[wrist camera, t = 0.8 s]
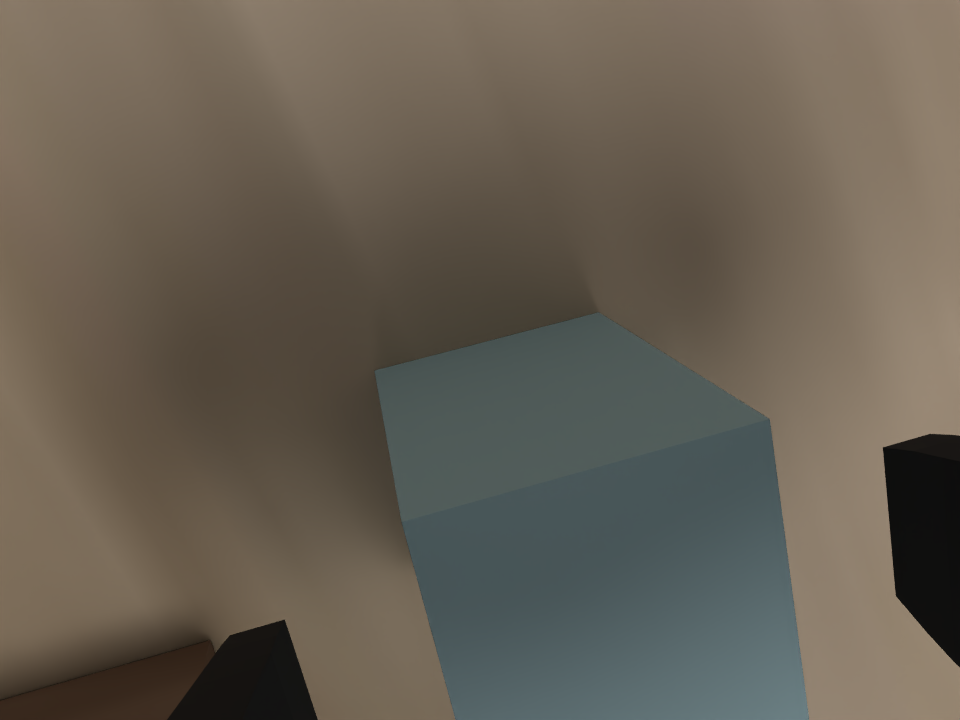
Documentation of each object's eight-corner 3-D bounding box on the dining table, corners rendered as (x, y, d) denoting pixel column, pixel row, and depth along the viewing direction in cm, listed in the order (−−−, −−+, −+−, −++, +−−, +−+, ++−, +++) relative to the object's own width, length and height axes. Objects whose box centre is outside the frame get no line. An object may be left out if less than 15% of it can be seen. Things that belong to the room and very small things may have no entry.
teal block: (636, 515, 16) (809, 727, 10) (429, 575, 15) (486, 832, 10) (598, 312, 15) (769, 418, 9) (374, 370, 14) (401, 521, 8)
